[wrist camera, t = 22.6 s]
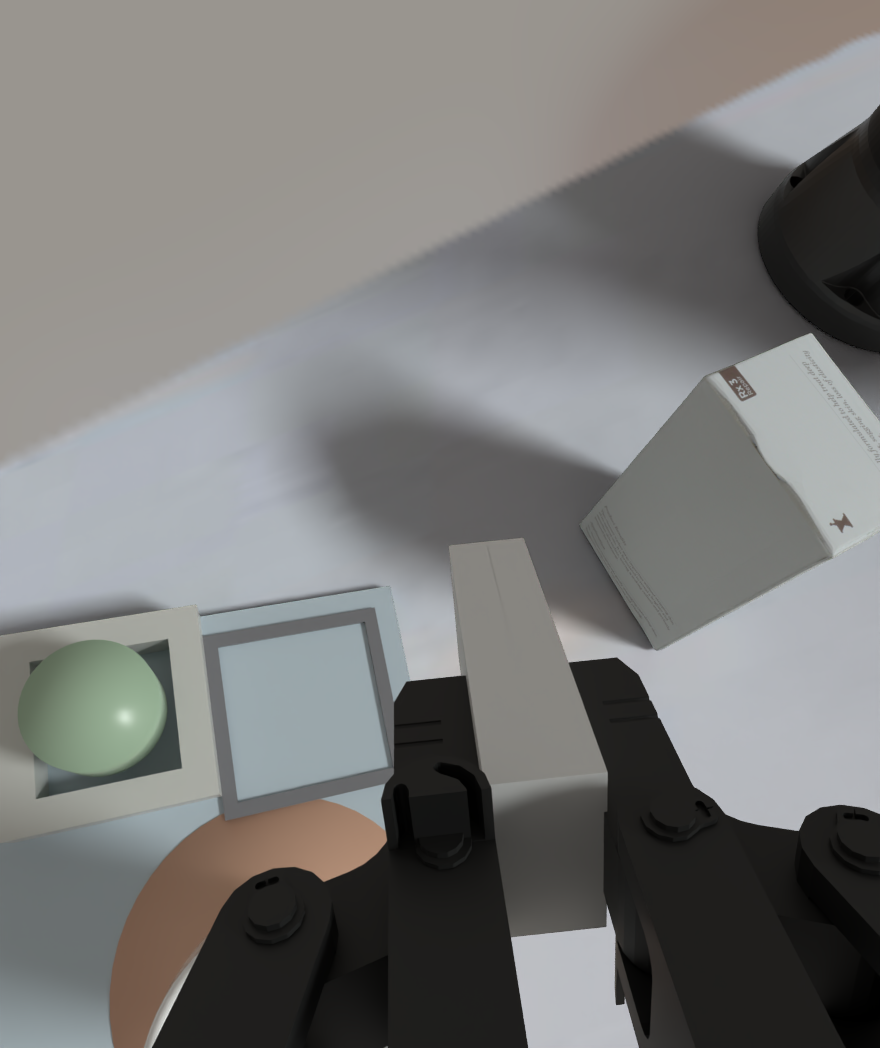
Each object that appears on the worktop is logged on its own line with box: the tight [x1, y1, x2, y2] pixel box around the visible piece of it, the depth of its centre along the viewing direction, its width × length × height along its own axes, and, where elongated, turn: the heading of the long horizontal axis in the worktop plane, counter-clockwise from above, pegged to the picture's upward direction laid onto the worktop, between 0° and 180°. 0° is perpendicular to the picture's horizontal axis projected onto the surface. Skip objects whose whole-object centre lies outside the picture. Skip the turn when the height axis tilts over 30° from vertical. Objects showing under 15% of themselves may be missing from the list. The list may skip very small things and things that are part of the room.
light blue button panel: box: [0, 586, 410, 1048], centre depth 32 cm, size 18×22×1 cm
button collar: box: [0, 605, 222, 843], centre depth 32 cm, size 8×8×2 cm
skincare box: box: [580, 333, 880, 651], centre depth 35 cm, size 8×6×15 cm
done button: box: [18, 640, 168, 777], centre depth 30 cm, size 5×5×3 cm
